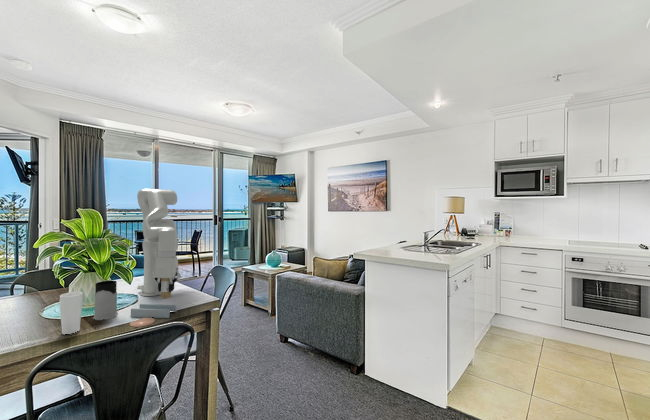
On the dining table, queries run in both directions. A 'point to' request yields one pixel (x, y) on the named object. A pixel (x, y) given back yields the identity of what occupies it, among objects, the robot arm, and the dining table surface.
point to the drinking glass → (71, 311)
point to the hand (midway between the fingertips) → (166, 290)
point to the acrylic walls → (153, 310)
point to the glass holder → (105, 300)
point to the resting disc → (142, 322)
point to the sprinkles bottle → (165, 288)
